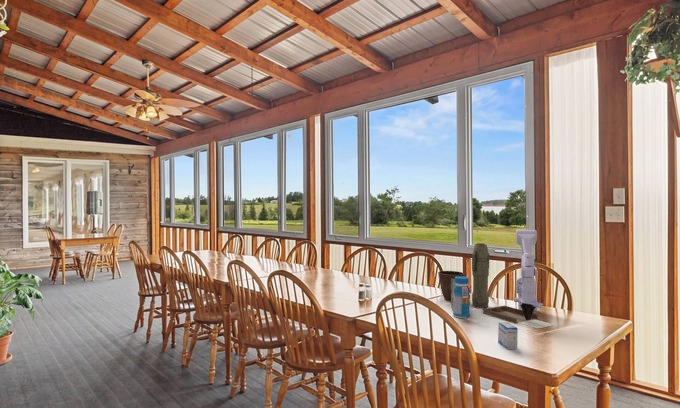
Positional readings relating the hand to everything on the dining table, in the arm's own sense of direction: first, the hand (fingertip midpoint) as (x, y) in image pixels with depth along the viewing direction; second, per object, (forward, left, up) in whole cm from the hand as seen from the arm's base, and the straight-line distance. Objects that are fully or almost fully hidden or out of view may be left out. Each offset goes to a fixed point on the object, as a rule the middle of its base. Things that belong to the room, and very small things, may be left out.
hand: (528, 319), depth 202 cm
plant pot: (-1, -54, -2) cm, 54 cm away
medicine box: (+35, +17, -2) cm, 39 cm away
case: (0, -10, -2) cm, 10 cm away
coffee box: (+12, -35, -2) cm, 37 cm away
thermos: (-4, -34, -2) cm, 34 cm away
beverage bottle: (+20, -24, -2) cm, 31 cm away
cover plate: (0, +5, -2) cm, 5 cm away
